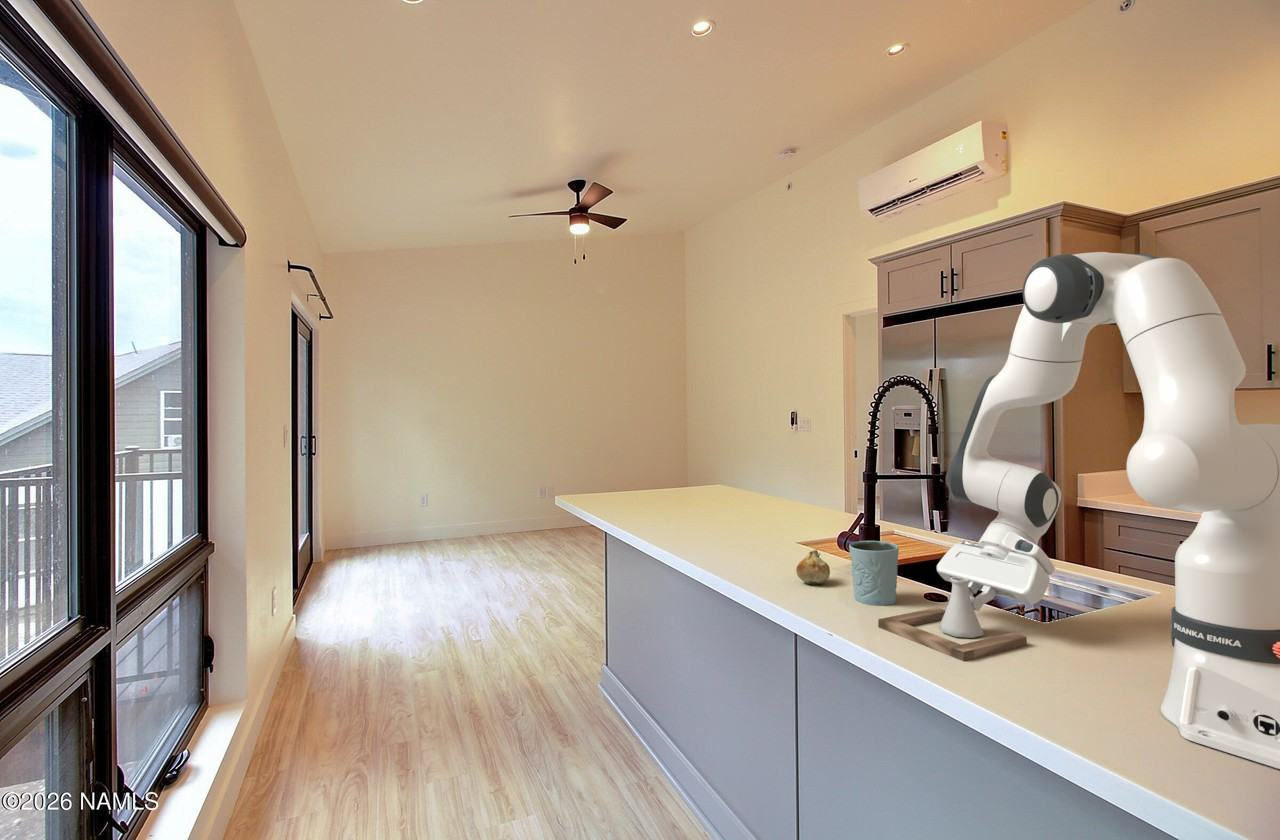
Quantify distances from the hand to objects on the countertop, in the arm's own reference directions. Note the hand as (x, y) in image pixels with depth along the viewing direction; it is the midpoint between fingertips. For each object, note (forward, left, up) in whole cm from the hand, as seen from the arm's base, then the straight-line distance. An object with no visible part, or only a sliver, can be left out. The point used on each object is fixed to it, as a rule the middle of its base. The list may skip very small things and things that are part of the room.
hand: (969, 607), depth 122 cm
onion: (+40, +4, -5) cm, 40 cm away
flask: (0, +2, -5) cm, 5 cm away
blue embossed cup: (+23, +1, -5) cm, 23 cm away
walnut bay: (0, +5, -4) cm, 7 cm away
